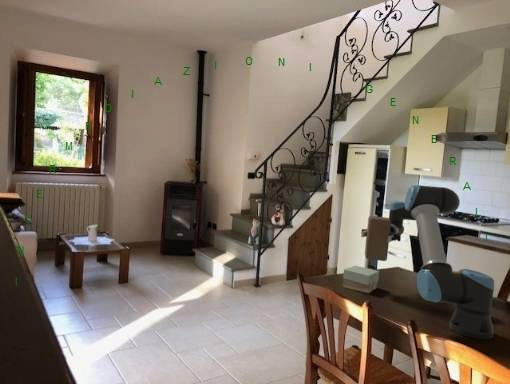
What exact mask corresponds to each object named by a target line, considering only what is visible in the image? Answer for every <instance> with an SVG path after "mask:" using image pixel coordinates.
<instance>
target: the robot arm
mask: <svg viewBox="0 0 510 384" xmlns="http://www.w3.org/2000/svg"><path fill="white" fill-rule="evenodd" d="M405 195H406V196H405V199H404V201H397V200H394V201H391V202H390V206H389V212H388V213H389V214H388V218H389V219H390V221H391V227H390V236H388V242H389V243H391V242H393V241H395V242H396V241H397V242H401V239H402V235H403V234H404V231H405V227H404V220H406V221H407V220H408V221H415V223H416V227H417V234H418V240H419V246H420V251H421V258H422V263H423V265H422V266H421V267H420V270H419V271H418V272H417V274H416V287H417V291H418V294H419V295H420V297H421V298H422V299H423V300H424V301H429V302H433V303H444V304H453V305H454V304H456V308H455V310H454V312H453V314H452V315H451V318H450V320H449V323H448V325H449V326H448V327H449V329H450V330H452V331H453V332H455V333H456V334H459V335H461V336H464V337H466V338H472V339H476V340H491V339H493V337H494V326H493V322H492V318H491V314H492V313H491V312H492V305H493V296H494V291H495V280H494V278H493V277H492V276H489V275H487V274H485V273H482V272H480V271H476V270H472V269H467V268H462V269H460V270H461V271H460V272H461V273H453V272H454V270H453V267H452V265H451V264H450V263H448V262H447V259H446V253H445V248H444V244H443V240H442V235H441V234H442V233H441V230H440V224H439V221H438V217H437V216H440V215H442V214H443V215H449V214H452V213H454V212H455V211H457V210H458V209H459V206H460V197H459V195H458V194H457V192H455V191H454V190H453V189H450V188H448V187H441V186H431V185H429V186H427V185H421V184H419V185H417V184H416V185H415V184H414V185H410V186H409V188H408V189H407V192H406V194H405ZM360 233H361V238H366V237H367V228H365V229H364V228H362V229H361V232H360Z"/></svg>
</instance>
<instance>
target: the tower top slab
mask: <svg viewBox="0 0 510 384" xmlns="http://www.w3.org/2000/svg"><path fill="white" fill-rule="evenodd" d="M379 275H380V270H375V269H371V268H366V267H363V266H358V265H353V266H351V267H347V268H344V269H343V276H342V278H343V280H344V279H347V280H351V281H355V282H359V283H362V284H366V285H369V284H371V283H373V282H375V281H377V280H378V281H379V278H380V276H379Z"/></svg>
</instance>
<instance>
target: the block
mask: <svg viewBox="0 0 510 384" xmlns="http://www.w3.org/2000/svg"><path fill="white" fill-rule="evenodd" d="M390 227H391V221H390V219H389V217H385V216H383V217H381V216H376V215H375V216H374V215H369V216H368V219H367V228H366V229H367V236H366V237H365V238H366V239H365V249H364V256H365V259H367V260H372V261H373V260H374V261H381V262H386V261H387V260H388V253H389V243H390V242H388V236H390Z"/></svg>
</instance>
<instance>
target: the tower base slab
mask: <svg viewBox="0 0 510 384" xmlns="http://www.w3.org/2000/svg"><path fill="white" fill-rule="evenodd" d="M342 280H343V283H342V287H343V288H346V289H350V290H353V291H357V292H361V293H365V294H370V293H372V292H373V291H374V290H376V289H377V288H378V285H379V284H378V283H379V279H378V280H377V281H375V282H373V283H371V284H369V285H366V284H362V283H359V282H355V281H351V280H347V279H344V278H343V279H342Z"/></svg>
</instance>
